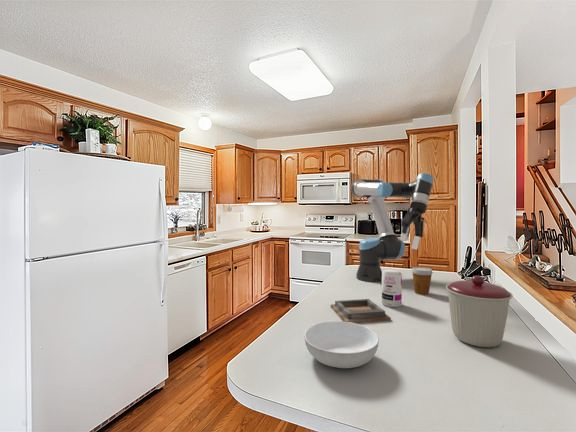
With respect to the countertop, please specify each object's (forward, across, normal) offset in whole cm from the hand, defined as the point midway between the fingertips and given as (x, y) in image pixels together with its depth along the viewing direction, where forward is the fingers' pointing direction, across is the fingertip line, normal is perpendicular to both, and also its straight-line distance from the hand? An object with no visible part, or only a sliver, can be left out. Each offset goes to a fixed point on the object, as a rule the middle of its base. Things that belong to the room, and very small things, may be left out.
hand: (408, 244), depth 143 cm
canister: (+32, -18, -38) cm, 53 cm away
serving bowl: (+50, -56, -15) cm, 76 cm away
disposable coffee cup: (+19, +17, -4) cm, 26 cm away
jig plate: (+37, -24, +2) cm, 44 cm away
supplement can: (+30, -7, -2) cm, 31 cm away
